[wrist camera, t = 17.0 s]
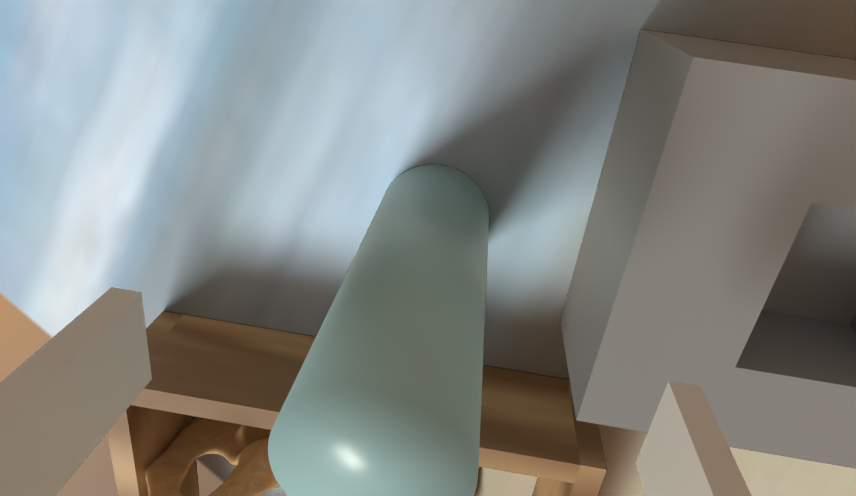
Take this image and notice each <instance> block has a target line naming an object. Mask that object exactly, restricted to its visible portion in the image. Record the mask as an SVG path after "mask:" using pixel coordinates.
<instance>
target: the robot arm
mask: <svg viewBox="0 0 856 496" xmlns="http://www.w3.org/2000/svg"><path fill="white" fill-rule="evenodd" d="M151 379H152V375H151V367H150V359H149V351H148V343H147V335H146V326H145V318H144V310H143V302H142V294H141V292H136V291H130V290H124V289H118V288H112V287H111V288H110V289H109V290H108V291H107V292H106V293H104V294H103V295H102V296H101V297H100V298H99V299H97V300H96V301H95V302H94V303H93V304H92V305H90V306H89V307H88V308H87V309H86V310H85V311H83V312H82V313H81V314H80V315H79V316H77V317H76V318H75V319H74V320H73V321H72V322H70V323H69V324H68V325H67V326H66V327H65V328H63V329H62V330H61V331H60V332H59V333H58V334H56V335H55V336H54V337H53V338H52V339H51V340H50V341H48V342H47V343H46V344H45V345H44V346H42V347H41V348H40V349H39V350H38V351H37V352H36V353H34V354H33V355H32V356H31V357H30V358H28V359H27V360H26V361H25V362H24V363H23V364H22V365H20V366H19V367H18V368H17V369H16V370H14V371H13V372H12V373H11V374H10V375H9V376H7V377H6V378H5V379H4V380H3V381H2V382H0V496H56V495H57V494H58V493H59V491H60V490H61V489H62V488H63V486H64V485H65V484H66V483H67V482H68V480H69V479H70V478H71V477H72V475H73V474H74V473H75V472H76V471H77V469H78V468H79V467H80V466H81V464H82V463H83V462H84V461H85V459H86V458H87V457H88V456H89V455H90V454H91V452H92V451H93V450H94V448H95V447H96V446H97V445H98V444H99V443H100V441H101V440H102V439H103V438H104V437H105V435H106V434H107V433H108V432H109V430H110V429H111V428H112V427H113V426H114V424H115V423H116V422H117V421H118V419H119V418H120V417H121V416H122V415H123V413H124V412H125V411H126V410H127V409H128V407H129V406H130V405H131V404H132V402H133V401H134V400H135V399H136V398H137V396H138V395H139V394H140V393H141V391H142V390H143V389H144V388H145V387H146V385H147V384H148V383H149V382H150V380H151ZM635 464H636V468H637V472H638V475H639V479H640V483H641V487H642V490H643V494H644V496H751V494H750V492H749V490H748V487H747V485H746V483H745V481H744V479H743V477H742V474H741V472H740V470H739V468H738V466H737V464H736V462H735V459H734V457H733V455H732V453H731V451H730V449H729V446H728V444H727V442H726V440H725V438H724V436H723V434H722V431H721V429H720V427H719V425H718V423H717V421H716V418H715V416H714V414H713V412H712V410H711V408H710V406H709V403H708V401H707V399H706V397H705V395H704V393H703V390H702V388H701V387H700V386H694V385H688V384H682V383H676V382H670V381H668V383H667V386H666V388H665V391H664V393H663V396H662V398H661V401H660V403H659V406H658V408H657V411H656V413H655V416H654V418H653V421H652V423H651V426H650V428H649V430H648V433H647V435H646V438H645V440H644V443H643V445H642V448H641V450H640V453H639V455H638V458H637V460H636V463H635Z"/></svg>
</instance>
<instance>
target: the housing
mask: <svg viewBox="0 0 856 496" xmlns="http://www.w3.org/2000/svg"><path fill="white" fill-rule="evenodd" d="M560 324H561V330H562V336H563V342H564V348H565V354H566V360H567V366H568V372H569V379H570V385H571V391H572V397H573V403H574V409H575V415H576V420H577V421H583V422H588V423H594V424H600V425H606V426H612V427H617V428H623V429H629V430H635V431H641V432H646V433H648V430H649V428H650V426H651V423H652V421H653V418H654V416H655V413H656V411H657V408H658V406H659V403H660V401H661V398H662V396H663V393H664V391H665V388H666V386H667V383H668V381H670V382H676V383H682V384H688V385H694V386H700V387H701V388H702V390H703V393H704V395H705V397H706V399H707V401H708V403H709V406H710V408H711V410H712V412H713V414H714V416H715V418H716V421H717V423H718V425H719V427H720V429H721V431H722V434H723V436H724V438H725V440H726V442H727V444H728V446H729V447H734V448H739V449H745V450H751V451H757V452H763V453H768V454H774V455H780V456H786V457H792V458H798V459H803V460H809V461H815V462H821V463H827V464H832V465H838V466H844V467H850V468H856V60H852V59H845V58H838V57H831V56H824V55H818V54H811V53H804V52H797V51H790V50H783V49H776V48H769V47H762V46H755V45H748V44H741V43H734V42H727V41H720V40H713V39H706V38H699V37H692V36H685V35H678V34H671V33H664V32H657V31H650V30H643V29H641V31H640V34H639V38H638V42H637V45H636V49H635V52H634V56H633V60H632V63H631V67H630V71H629V74H628V78H627V81H626V85H625V89H624V92H623V96H622V100H621V103H620V107H619V110H618V114H617V118H616V121H615V125H614V129H613V132H612V136H611V139H610V143H609V147H608V150H607V154H606V158H605V161H604V165H603V168H602V172H601V176H600V179H599V183H598V187H597V190H596V194H595V197H594V201H593V205H592V208H591V212H590V216H589V219H588V223H587V226H586V230H585V234H584V237H583V241H582V244H581V248H580V252H579V255H578V259H577V263H576V266H575V270H574V273H573V277H572V281H571V284H570V288H569V292H568V295H567V299H566V302H565V306H564V310H563V313H562V317H561V321H560Z"/></svg>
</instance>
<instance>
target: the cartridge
mask: <svg viewBox="0 0 856 496" xmlns="http://www.w3.org/2000/svg"><path fill="white" fill-rule="evenodd" d="M488 233H489V209H488V204H487V201H486V198H485V196H484V194H483V192H482V191H481V189H480V188H479V186H478V185H477V184H476V183H475V182H474V181H473V180H472V179H471V178H470V177H469V176H467V175H466V174H464V173H463V172H461V171H459V170H457V169H454V168H451V167H448V166H444V165H435V164H432V165H422V166H418V167H414V168H412V169H410V170H407V171H405V172H404V173H402V174H401V175H399V176H398V177H397V178H396V179H395V180H394V181H393V182H392V183H391V184H390V186H389V187H388V189H387V191H386V193H385V195H384V197H383V199H382V201H381V203H380V205H379V207H378V209H377V211H376V213H375V216H374V218H373V220H372V222H371V224H370V226H369V228H368V230H367V232H366V234H365V236H364V238H363V240H362V243H361V245H360V247H359V249H358V251H357V253H356V255H355V257H354V259H353V261H352V263H351V265H350V267H349V270H348V272H347V274H346V276H345V278H344V280H343V282H342V284H341V286H340V288H339V290H338V292H337V294H336V296H335V299H334V301H333V303H332V305H331V307H330V309H329V311H328V313H327V315H326V317H325V319H324V321H323V323H322V326H321V328H320V330H319V332H318V334H317V336H316V338H315V340H314V342H313V344H312V346H311V348H310V350H309V353H308V355H307V357H306V359H305V361H304V363H303V365H302V367H301V369H300V371H299V373H298V375H297V377H296V380H295V382H294V384H293V386H292V388H291V390H290V392H289V394H288V396H287V398H286V400H285V402H284V404H283V406H282V409H281V411H280V413H279V415H278V417H277V419H276V421H275V423H274V425H273V427H272V429H271V433H270V436H269V440H268V457H269V462H270V466H271V470H272V472H273V474H274V476H275V479H276V480H277V482H278V484H279V485H280V487H281V489H282V490H283V491H284V492H285V494H286V495H287V496H474V494H475V490H476V487H477V481H478V468H479V444H480V421H481V397H482V374H483V351H484V327H485V304H486V280H487V257H488Z"/></svg>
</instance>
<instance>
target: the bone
mask: <svg viewBox="0 0 856 496" xmlns="http://www.w3.org/2000/svg"><path fill="white" fill-rule="evenodd" d="M270 433H271V430H269V429H264V428H258V427H252V426H247V425H241V424H235V423H230V422H224V421H218V420H213V419H207V418H201V417H199V418H197V419H195V420H194V421H193V422H191V423H190V424H189V425H187V426H186V427H185V428H184V429H183V430H182V431H181V432H180V434H179V435H178V436H177V437H176V438H175V439H174V441H173V442H172V443H171V445H170V446H169V447H168V449H167V450H166V451H165V452H164V453H163V454H162V455H161V456H160V457H158V458H157V459H156V460H155V461H154V462H153V463H152V464H151V465H150V466H149V467H148V468H147V471H146V477H145V478H146V482H147V486H148V493H149V495H148V496H182V495H181V493H180V491H179V488H180V485H181V482H182V481H183V479H184V477H185V476H186V474H187V473H188V470H189V468H190V466H191V465H192V463H193V462H194V461H195V460H196V459H197V458H198V457H200V456H202V455H205V454H219V455H221V456H223V457H225V458H226V459H227V460H228V462H229V463H230V464H232V465H236V468H235V469H234V471H233V472H232V474H231V475H230V476H229V477H228V478H227V480H226V481H225V482H224V483H223V484H222V485H221V486H220V487H219V488H217V489H216V490H215V491H214V492H213V493H211V494H210V495H209V496H257V495H259V494H262V493H264V492H267V491H269V490H271V489H274V488H276V487H280V485H279V484H278V482H277V480H276V479H275V476H274V474H273V472H272V470H271V466H270V462H269V457H268V440H269V436H270ZM479 468H480V467H479ZM479 468H478V472H479ZM475 491H476V490H475ZM474 496H475V494H474Z"/></svg>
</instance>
